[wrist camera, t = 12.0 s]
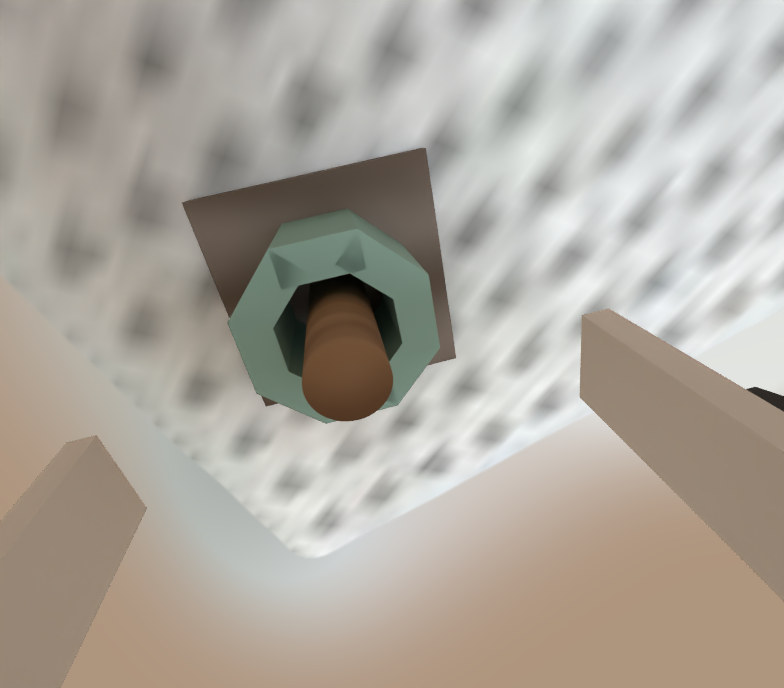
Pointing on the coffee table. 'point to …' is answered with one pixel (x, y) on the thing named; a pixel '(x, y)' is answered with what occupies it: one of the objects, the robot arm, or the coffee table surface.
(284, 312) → the collar
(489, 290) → the coffee table surface
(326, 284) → the post stand
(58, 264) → the coffee table surface
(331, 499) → the coffee table surface
